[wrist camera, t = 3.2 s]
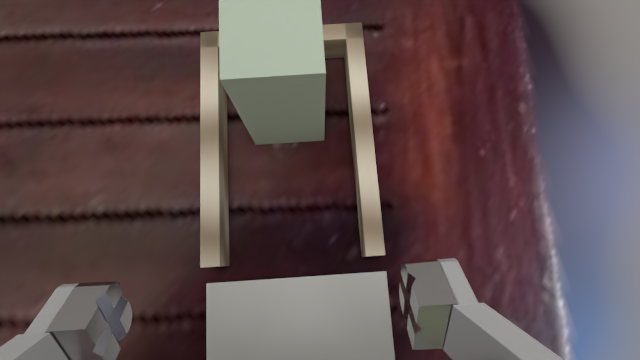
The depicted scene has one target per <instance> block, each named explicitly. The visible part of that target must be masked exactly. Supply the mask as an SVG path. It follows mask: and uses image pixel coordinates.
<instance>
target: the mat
mask: <svg viewBox="0 0 640 360" xmlns="http://www.w3.org/2000/svg"><path fill="white" fill-rule="evenodd" d="M206 360H395V353H394V343H393V333H392V324H391V314H390V304H389V294H388V284H387V274H386V271H380V272H366V273H351V274H337V275H322V276H307V277H293V278H278V279H264V280H249V281H235V282H220V283H207V284H206Z"/></svg>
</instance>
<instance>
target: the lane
mask: <svg viewBox="0 0 640 360" xmlns="http://www.w3.org/2000/svg"><path fill="white" fill-rule="evenodd" d="M322 28H323V41H324V55H325V59H331V58H344V63H345V74H346V85H347V97H348V108H349V119H350V131H351V142H352V153H353V164H354V176H355V187H356V198H357V210H358V221H359V232H360V243H361V255H362V257H368V256H381V255H385V247H384V237H383V227H382V217H381V208H380V198H379V188H378V178H377V168H376V159H375V149H374V139H373V129H372V119H371V109H370V100H369V90H368V80H367V70H366V60H365V51H364V41H363V31H362V23H346V24H330V25H322ZM222 266H230V265H229V197H228V129H227V92H226V90H225V88H224V87H223V85H222V83H221V81H220V63H219V31H216V32H201V109H200V268H203V267H222Z"/></svg>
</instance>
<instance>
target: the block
mask: <svg viewBox="0 0 640 360" xmlns="http://www.w3.org/2000/svg"><path fill="white" fill-rule="evenodd" d="M219 63H220V81H221V83H222V85H223V87H224V88H225V90H226V92H227V94H228V96H229V97H230V99H231V101H232V103H233V105H234V106H235V108H236V110H237V112H238V114H239V115H240V117H241V119H242V121H243V123H244V124H245V126H246V128H247V130H248V132H249V133H250V135H251V137H252V139H253V141H254V143H255V144H256V145H261V144H277V143H292V142H308V141H323V140H324V131H325V90H326V68H325V55H324V41H323V28H322V15H321V2H320V0H219Z"/></svg>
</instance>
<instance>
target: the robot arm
mask: <svg viewBox="0 0 640 360" xmlns="http://www.w3.org/2000/svg"><path fill="white" fill-rule="evenodd" d="M401 274H402V278H403V280H402V281H401V282H400V285H399V296H400V304H401V309H402V313H403V315H404V316H405V317H406V318H407V319H408V323H407V331H408V334H409V338H410V341H411V345H412V349H413V350H421V349H443V350H444V351H445V352H446V353H447V354H448V356H449V357H450V358H451V359H452V360H563V359H562V358H560V357H559V356H558V355H556V354H555V353H553V352H552V351H551V350H549V349H548V348H546V347H545V346H544V345H542V344H541V343H539V342H538V341H537V340H535V339H534V338H532V337H531V336H530V335H528V334H527V333H525V332H524V331H523V330H521V329H520V328H518V327H517V326H516V325H514V324H513V323H511V322H510V321H509V320H507V319H506V318H504V317H503V316H502V315H500V314H499V313H497V312H496V311H495V310H493V309H492V308H491V307H489V306H488V305H486V304H485V303H478V301H477V299H476V297H475V295H474V293H473V291H472V289H471V287H470V285H469V283H468V281H467V279H466V277H465V275H464V273H463V271H462V269H461V267H460V265H459V263H458V261H457V260H456V259H455V258H449V259H437V260H436V259H435V260H422V261H409V262H402V265H401ZM122 292H123V289H122V287H121V285H120V283H119V282H94V283H78V284H62V285H61V286H59V287H57V288H56V289H55V291H54V292H53V294H52V295H51V297H50V298H49V299H48V301H47V302H46V304H45V305H44V306H43V308H42V309H41V311H40V312H39V313H38V315H37V316H36V318H35V319H34V321H33V322H32V323H31V325H30V326H29V328H28V329H27V330H26V332H25V333H24V334H20V335H17V336H15V337H14V338H13V339H11V340H10V341H8V342H7V343H5V344H4V345H2V346H1V347H0V360H116V358H117V356H118V353H119V351H120V349H121V348H120V345H119V342H118V341H120V340H121V339H122V338H123V337H124V336H125V335H126V334H127V333H128V331H129V328H130V326H131V320H132V309H131V305H130V303H129V301H128V300H126V299H125V298H123V297H122V296H121V294H122Z"/></svg>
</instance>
